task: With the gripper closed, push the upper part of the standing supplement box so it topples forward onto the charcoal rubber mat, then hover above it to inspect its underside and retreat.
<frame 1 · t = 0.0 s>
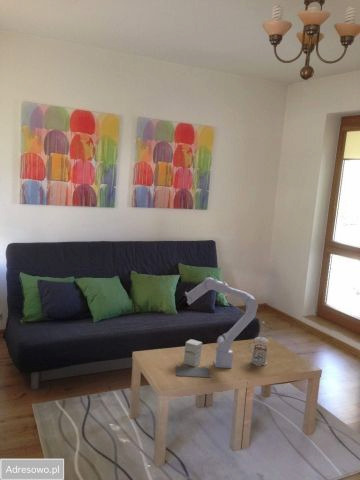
hand: (176, 307, 233), 32 cm above the table, tool tilted 50°, fingers open, 7 cm apart
french press: (257, 362, 246), on the table
supplement box: (191, 363, 237), on the table, touching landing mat
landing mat: (192, 372, 227), on the table
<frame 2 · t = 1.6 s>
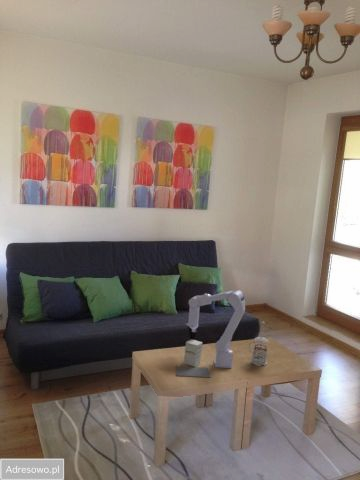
hand: (191, 339, 246), 11 cm above the table, tool pointing down, fingers open, 7 cm apart
supplement box: (191, 363, 237), on the table, touching gripper, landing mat
everything else where it was.
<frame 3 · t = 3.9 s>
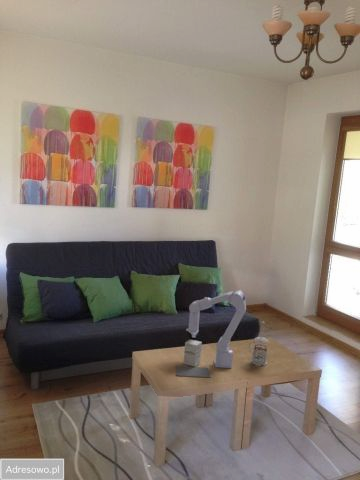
hand: (192, 344, 243), 8 cm above the table, tool pointing down, fingers closed
supplement box: (191, 363, 237), on the table, touching gripper, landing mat
everything else where it was.
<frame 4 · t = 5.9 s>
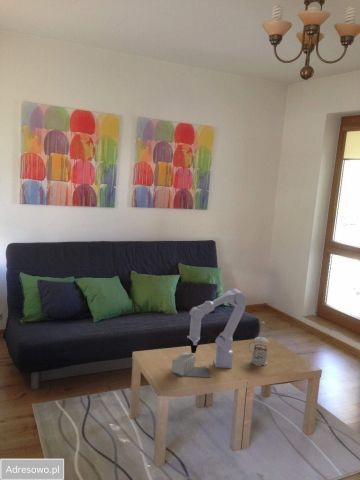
hand: (193, 352, 232), 8 cm above the table, tool pointing down, fingers closed
supplement box: (189, 359, 233), point 4 cm above the table, touching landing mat
everything else where it was.
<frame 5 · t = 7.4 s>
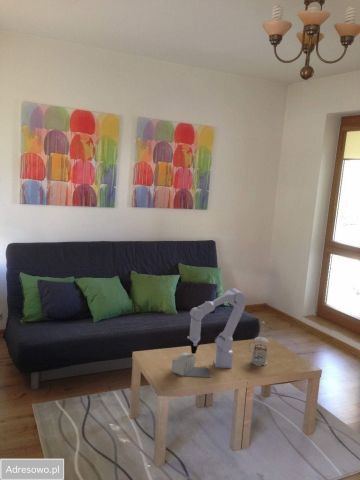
hand: (193, 353, 231), 8 cm above the table, tool pointing down, fingers closed
nothing on the table moved.
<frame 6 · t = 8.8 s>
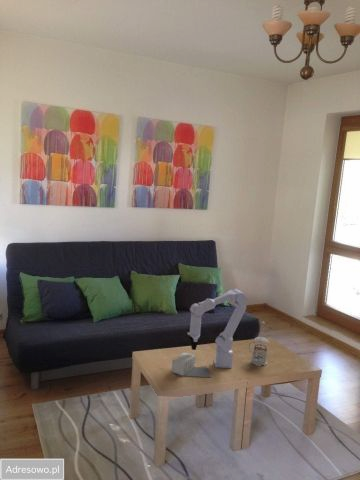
hand: (193, 349, 232), 10 cm above the table, tool pointing down, fingers closed
nothing on the table moved.
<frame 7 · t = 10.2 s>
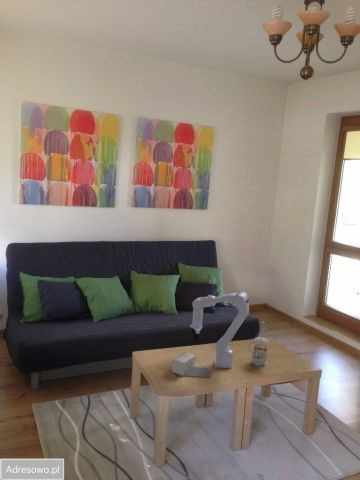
hand: (195, 341, 244), 10 cm above the table, tool pointing down, fingers closed
nothing on the table moved.
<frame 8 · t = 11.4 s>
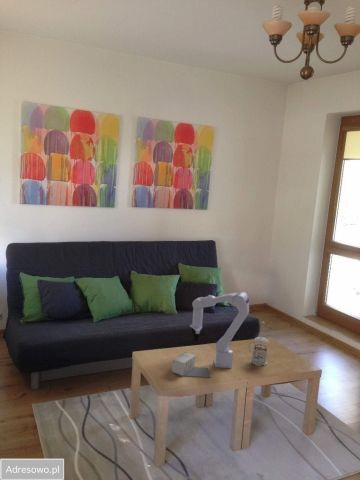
hand: (195, 341, 244), 10 cm above the table, tool pointing down, fingers closed
nothing on the table moved.
at the end: supplement box tilted 89°; supplement box touching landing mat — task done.
